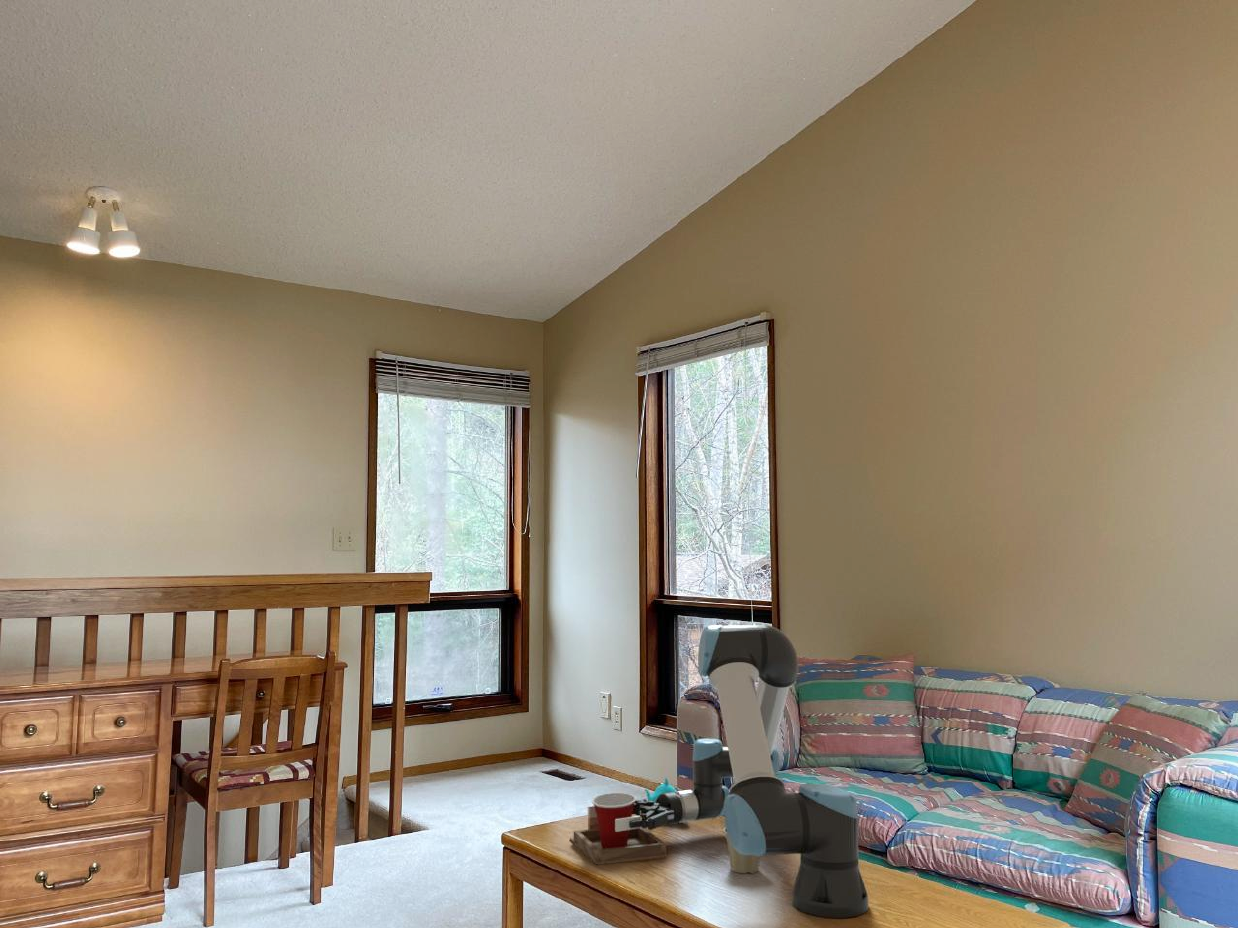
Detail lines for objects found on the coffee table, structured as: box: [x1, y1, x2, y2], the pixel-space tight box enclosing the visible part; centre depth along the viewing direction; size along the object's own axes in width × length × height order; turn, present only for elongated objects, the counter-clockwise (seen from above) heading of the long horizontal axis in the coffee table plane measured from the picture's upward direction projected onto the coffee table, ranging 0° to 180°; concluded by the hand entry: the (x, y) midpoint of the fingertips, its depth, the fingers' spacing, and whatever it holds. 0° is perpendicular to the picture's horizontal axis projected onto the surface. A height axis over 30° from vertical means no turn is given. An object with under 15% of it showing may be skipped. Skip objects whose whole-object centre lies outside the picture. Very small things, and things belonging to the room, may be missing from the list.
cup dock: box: [569, 817, 667, 865], centre depth 234 cm, size 21×17×8 cm
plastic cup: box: [591, 792, 637, 849], centre depth 232 cm, size 11×11×12 cm
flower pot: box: [722, 826, 761, 874], centre depth 218 cm, size 9×9×9 cm
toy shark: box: [644, 777, 677, 803], centre depth 261 cm, size 10×18×11 cm, turn 37°
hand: (601, 818), depth 230 cm, fingers open, 13 cm apart
